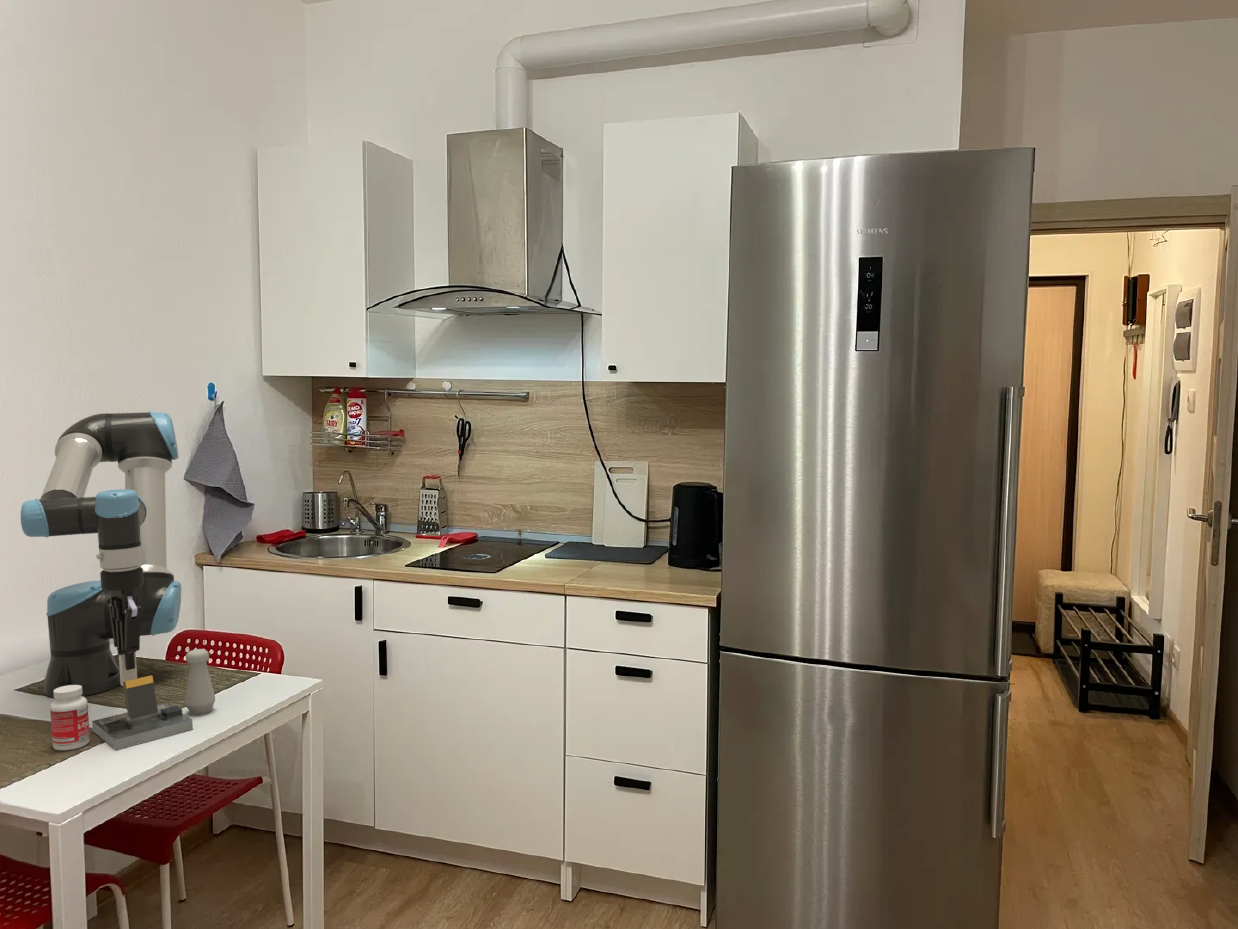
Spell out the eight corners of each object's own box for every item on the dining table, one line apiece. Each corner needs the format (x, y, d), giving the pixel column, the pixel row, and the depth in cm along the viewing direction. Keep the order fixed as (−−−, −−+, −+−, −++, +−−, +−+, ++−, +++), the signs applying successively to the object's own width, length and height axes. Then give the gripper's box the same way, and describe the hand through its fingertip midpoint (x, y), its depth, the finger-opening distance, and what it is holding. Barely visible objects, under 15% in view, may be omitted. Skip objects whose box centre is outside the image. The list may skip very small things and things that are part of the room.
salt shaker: (204, 717, 193) (200, 655, 191) (179, 716, 194) (175, 654, 193) (221, 707, 198) (218, 647, 197) (197, 706, 200) (193, 646, 198)
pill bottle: (84, 749, 177) (80, 692, 176) (48, 753, 176) (43, 695, 175) (94, 737, 183) (90, 682, 182) (59, 740, 182) (55, 684, 181)
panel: (92, 731, 186) (91, 716, 186) (166, 712, 196) (165, 698, 196) (116, 750, 176) (115, 734, 176) (192, 729, 186) (191, 714, 186)
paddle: (126, 724, 184) (119, 682, 184) (158, 715, 188) (152, 675, 189) (128, 724, 183) (122, 682, 183) (161, 715, 187) (155, 674, 187)
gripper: (90, 566, 189) (98, 681, 191) (111, 575, 180) (119, 696, 182) (130, 561, 195) (137, 673, 197) (153, 569, 185) (160, 686, 188)
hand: (129, 684), depth 190 cm, fingers closed
